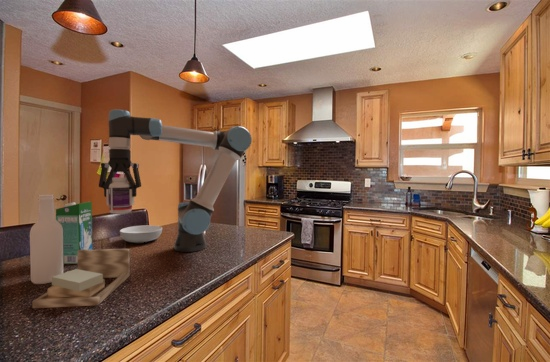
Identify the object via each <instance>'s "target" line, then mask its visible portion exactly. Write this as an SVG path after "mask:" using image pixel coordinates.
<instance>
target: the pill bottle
mask: <svg viewBox="0 0 550 362" xmlns="http://www.w3.org/2000/svg"><path fill="white" fill-rule="evenodd" d="M129 189H131V186H130V184H129V182H128V180H127V177H126V176H125V177H122V176H121V177H114V178H112V183H111V184H110V185H109V205H108V207H109V208H108V209H109V213H110V214H112V215H113V214H116V215H120V214H121V215H122V214H128V213H131V212H132V211H133V205H130V192H129Z"/></svg>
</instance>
